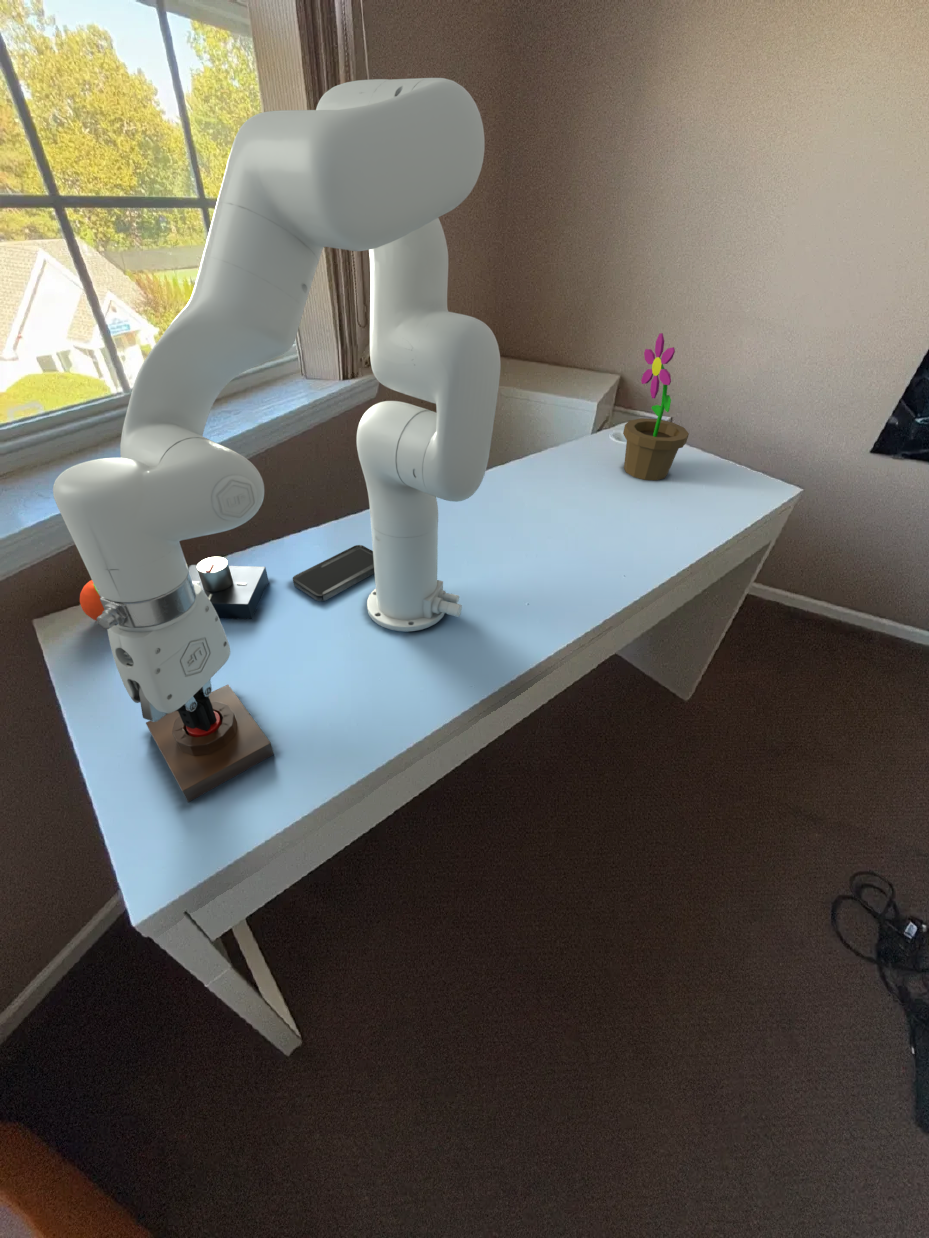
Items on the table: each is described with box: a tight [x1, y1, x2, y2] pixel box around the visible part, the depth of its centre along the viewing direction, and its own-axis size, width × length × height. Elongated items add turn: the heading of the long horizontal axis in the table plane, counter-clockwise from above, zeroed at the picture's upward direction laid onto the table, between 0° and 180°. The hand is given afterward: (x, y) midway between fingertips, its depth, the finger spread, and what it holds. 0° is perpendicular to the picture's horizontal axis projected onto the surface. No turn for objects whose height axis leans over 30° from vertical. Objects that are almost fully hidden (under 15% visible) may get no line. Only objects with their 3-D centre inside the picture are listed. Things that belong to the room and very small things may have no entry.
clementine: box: [79, 579, 104, 622], centre depth 80 cm, size 8×7×7 cm
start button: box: [186, 711, 222, 738], centre depth 63 cm, size 4×4×2 cm
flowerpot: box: [622, 332, 690, 481], centre depth 122 cm, size 14×14×30 cm
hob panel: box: [188, 564, 270, 620], centre depth 86 cm, size 12×10×3 cm
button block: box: [145, 684, 275, 803], centre depth 64 cm, size 12×10×4 cm
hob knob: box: [196, 556, 233, 592], centre depth 84 cm, size 4×4×4 cm
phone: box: [292, 544, 375, 602], centre depth 93 cm, size 8×1×15 cm
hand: (201, 722), depth 62 cm, fingers closed
